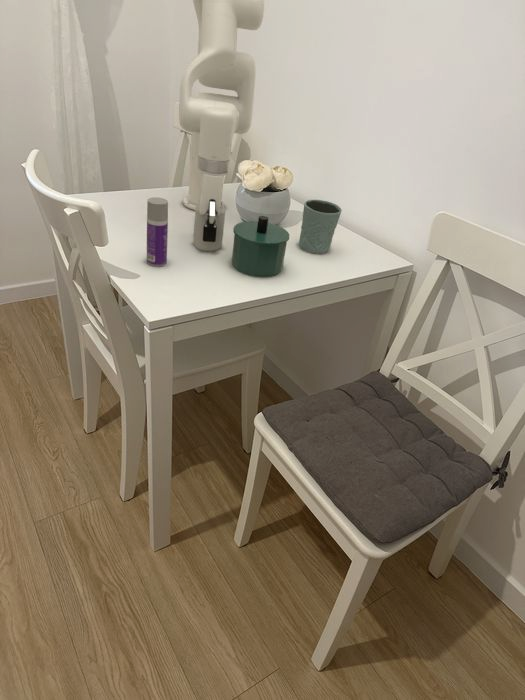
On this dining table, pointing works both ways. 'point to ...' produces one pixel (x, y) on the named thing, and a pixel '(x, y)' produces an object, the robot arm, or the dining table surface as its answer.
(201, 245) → the can
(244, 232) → the pot lid
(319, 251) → the green textured cup
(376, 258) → the dining table surface
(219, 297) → the dining table surface
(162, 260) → the container
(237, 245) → the pot
